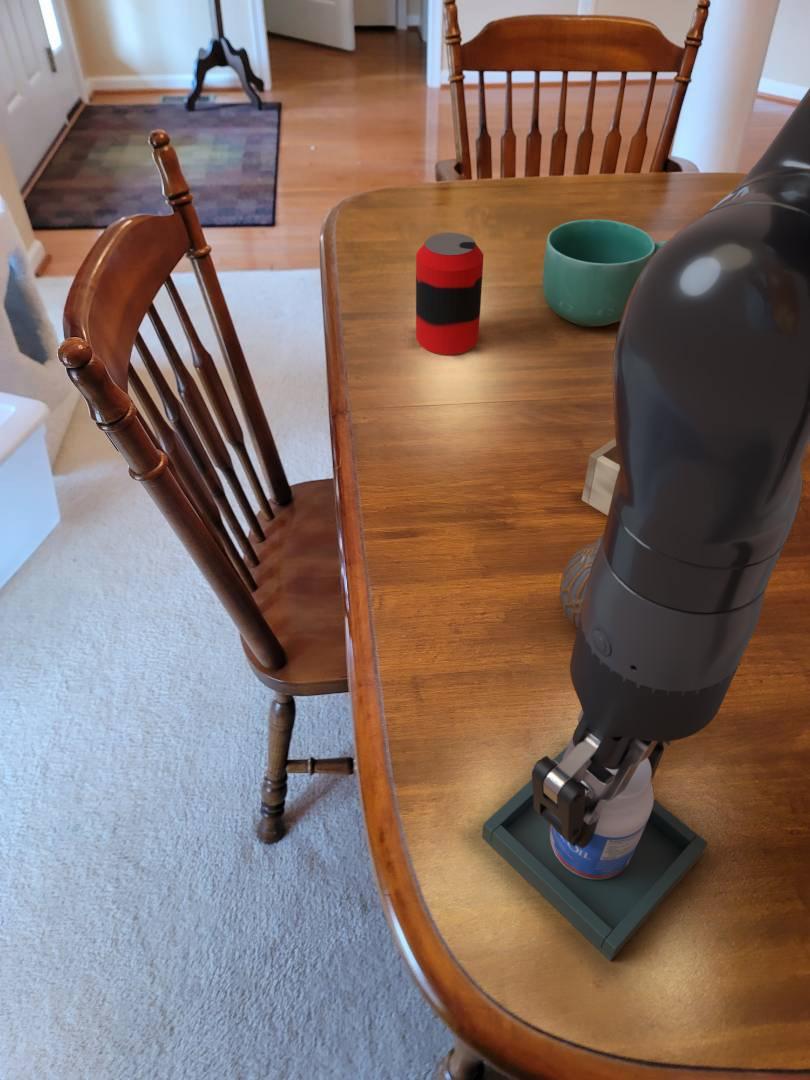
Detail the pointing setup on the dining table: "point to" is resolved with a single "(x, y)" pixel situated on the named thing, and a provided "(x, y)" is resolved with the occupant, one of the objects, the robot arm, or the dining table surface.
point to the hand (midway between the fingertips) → (604, 801)
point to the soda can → (448, 293)
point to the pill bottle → (611, 830)
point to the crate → (601, 477)
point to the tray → (588, 904)
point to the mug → (594, 269)
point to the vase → (577, 580)
